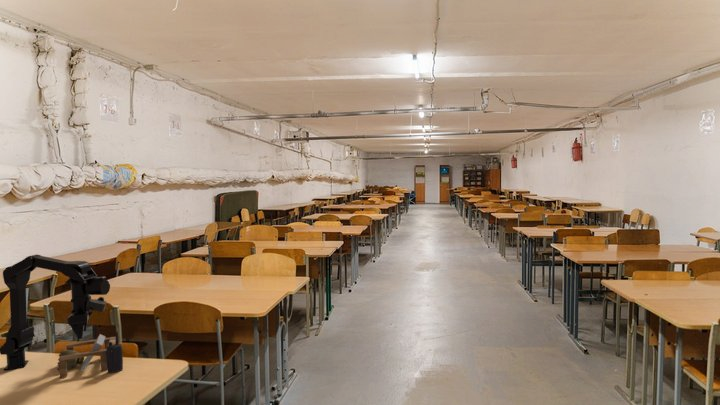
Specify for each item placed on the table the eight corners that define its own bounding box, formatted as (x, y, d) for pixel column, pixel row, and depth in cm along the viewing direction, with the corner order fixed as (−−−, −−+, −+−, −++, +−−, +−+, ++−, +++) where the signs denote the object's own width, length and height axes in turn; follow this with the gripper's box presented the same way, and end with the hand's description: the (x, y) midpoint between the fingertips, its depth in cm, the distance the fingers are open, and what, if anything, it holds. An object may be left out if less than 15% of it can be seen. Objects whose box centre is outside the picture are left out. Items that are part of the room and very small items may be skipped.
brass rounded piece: (82, 356, 168) (57, 356, 165) (80, 373, 170) (55, 374, 167) (86, 345, 175) (62, 345, 172) (84, 362, 176) (61, 362, 173)
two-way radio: (123, 367, 170) (121, 329, 169) (124, 371, 166) (122, 332, 165) (106, 371, 167) (104, 332, 166) (107, 375, 163) (105, 335, 162)
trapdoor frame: (68, 362, 176) (67, 343, 176) (117, 354, 183) (116, 336, 183) (60, 378, 162) (58, 357, 161) (113, 369, 169) (112, 349, 168)
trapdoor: (88, 361, 177) (82, 358, 176) (105, 336, 179) (99, 333, 178) (84, 371, 167) (77, 369, 166) (102, 345, 169) (96, 342, 168)
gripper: (101, 297, 165) (103, 339, 166) (107, 287, 182) (108, 324, 183) (66, 301, 160) (68, 344, 161) (75, 290, 178) (77, 328, 178)
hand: (82, 334), depth 171 cm, fingers open, 9 cm apart
